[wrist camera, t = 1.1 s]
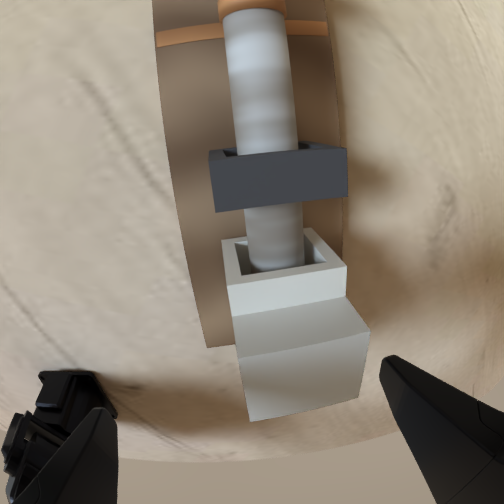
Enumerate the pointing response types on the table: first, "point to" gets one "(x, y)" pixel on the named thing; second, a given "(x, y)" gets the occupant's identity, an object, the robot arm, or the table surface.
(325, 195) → the dark square collar
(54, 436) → the robot arm
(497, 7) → the table surface
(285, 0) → the pipe rig
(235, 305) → the sleeve
